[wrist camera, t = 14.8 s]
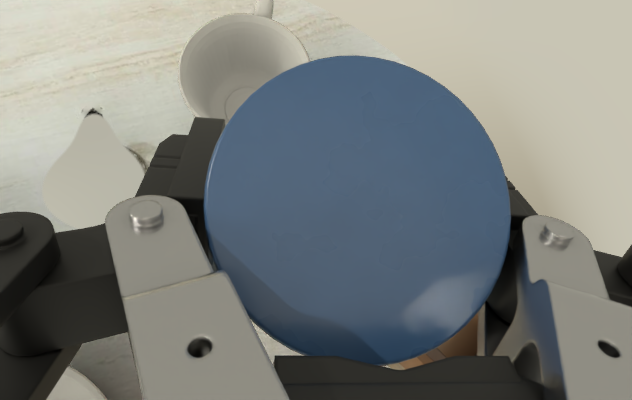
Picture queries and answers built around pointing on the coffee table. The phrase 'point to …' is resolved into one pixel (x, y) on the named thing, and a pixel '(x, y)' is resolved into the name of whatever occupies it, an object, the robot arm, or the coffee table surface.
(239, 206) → the blue tin
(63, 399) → the dish
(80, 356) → the coffee table surface
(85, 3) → the coffee table surface
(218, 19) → the teacup
